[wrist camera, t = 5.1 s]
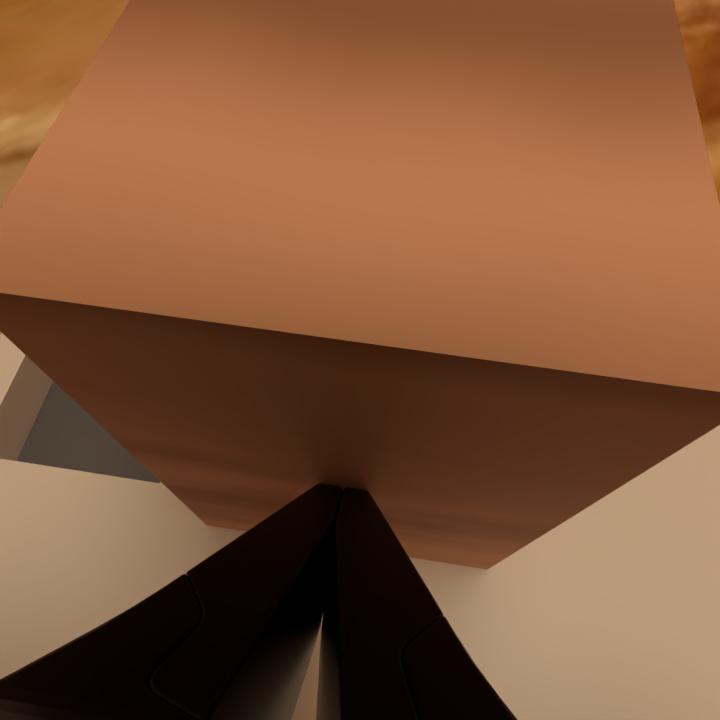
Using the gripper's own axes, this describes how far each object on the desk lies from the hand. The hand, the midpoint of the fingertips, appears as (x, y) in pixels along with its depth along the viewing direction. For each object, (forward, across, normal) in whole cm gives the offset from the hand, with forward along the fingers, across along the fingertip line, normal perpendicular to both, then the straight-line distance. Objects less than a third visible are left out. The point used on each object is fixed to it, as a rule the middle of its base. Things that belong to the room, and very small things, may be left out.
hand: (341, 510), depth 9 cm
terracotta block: (+6, 0, +1) cm, 6 cm away
